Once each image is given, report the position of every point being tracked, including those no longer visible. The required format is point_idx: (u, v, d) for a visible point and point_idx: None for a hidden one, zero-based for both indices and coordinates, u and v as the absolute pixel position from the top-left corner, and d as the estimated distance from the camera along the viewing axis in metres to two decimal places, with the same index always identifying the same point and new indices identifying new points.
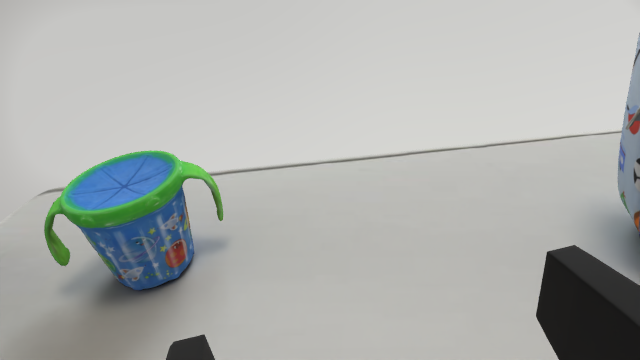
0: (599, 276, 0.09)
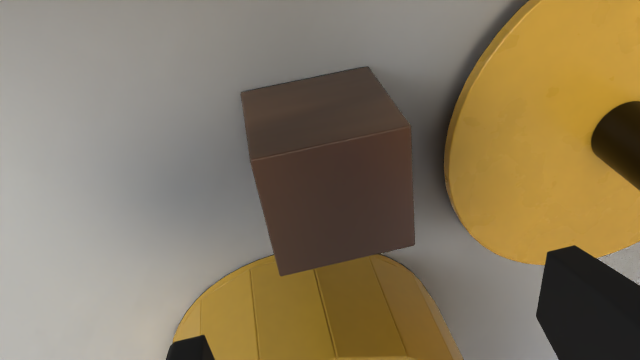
0: (599, 276, 0.09)
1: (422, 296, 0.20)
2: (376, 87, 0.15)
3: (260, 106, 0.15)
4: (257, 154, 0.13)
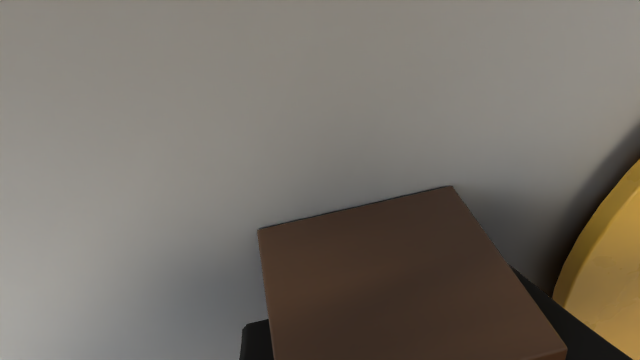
0: None
1: None
2: (477, 237, 0.09)
3: (290, 267, 0.09)
4: None
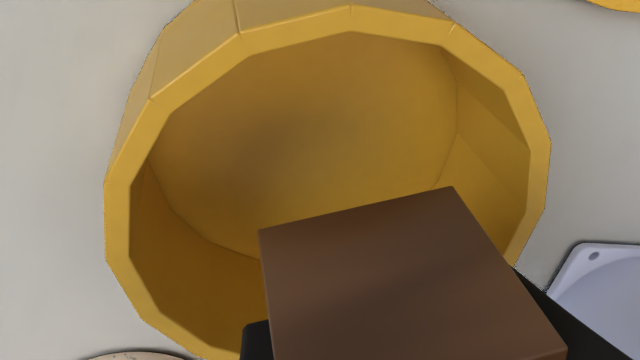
0: None
1: None
2: (478, 237, 0.09)
3: (290, 267, 0.09)
4: None
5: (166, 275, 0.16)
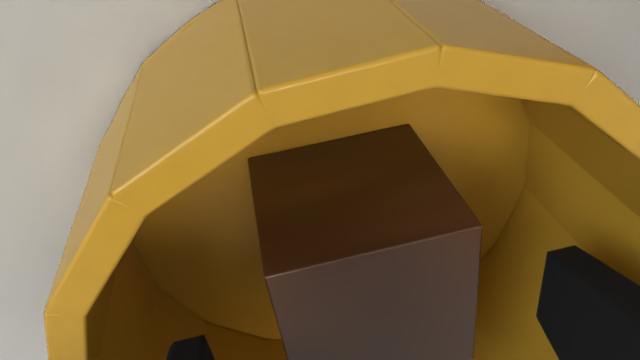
0: (599, 276, 0.09)
1: None
2: (424, 157, 0.11)
3: (273, 183, 0.11)
4: (273, 267, 0.09)
5: None
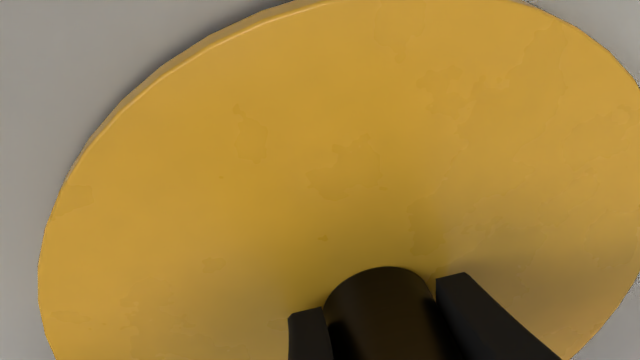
0: (475, 307, 0.09)
1: None
2: None
3: None
4: None
5: None
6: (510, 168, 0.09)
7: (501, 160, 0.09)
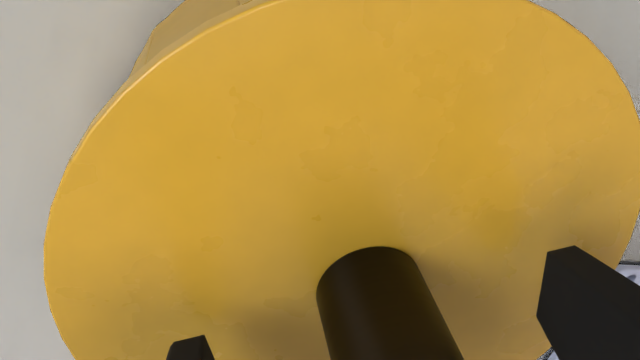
0: (599, 276, 0.09)
1: None
2: None
3: None
4: None
5: None
6: (495, 151, 0.10)
7: (486, 143, 0.10)
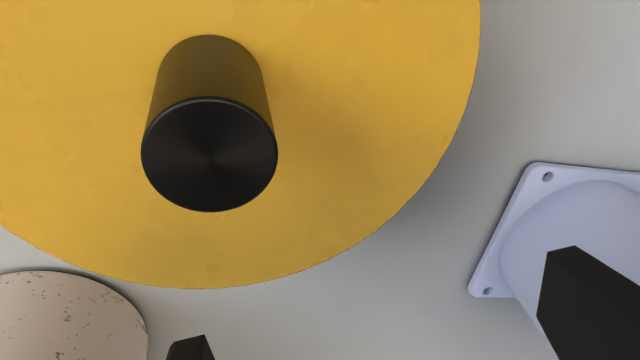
0: (599, 276, 0.09)
1: None
2: None
3: None
4: None
5: None
6: None
7: None
